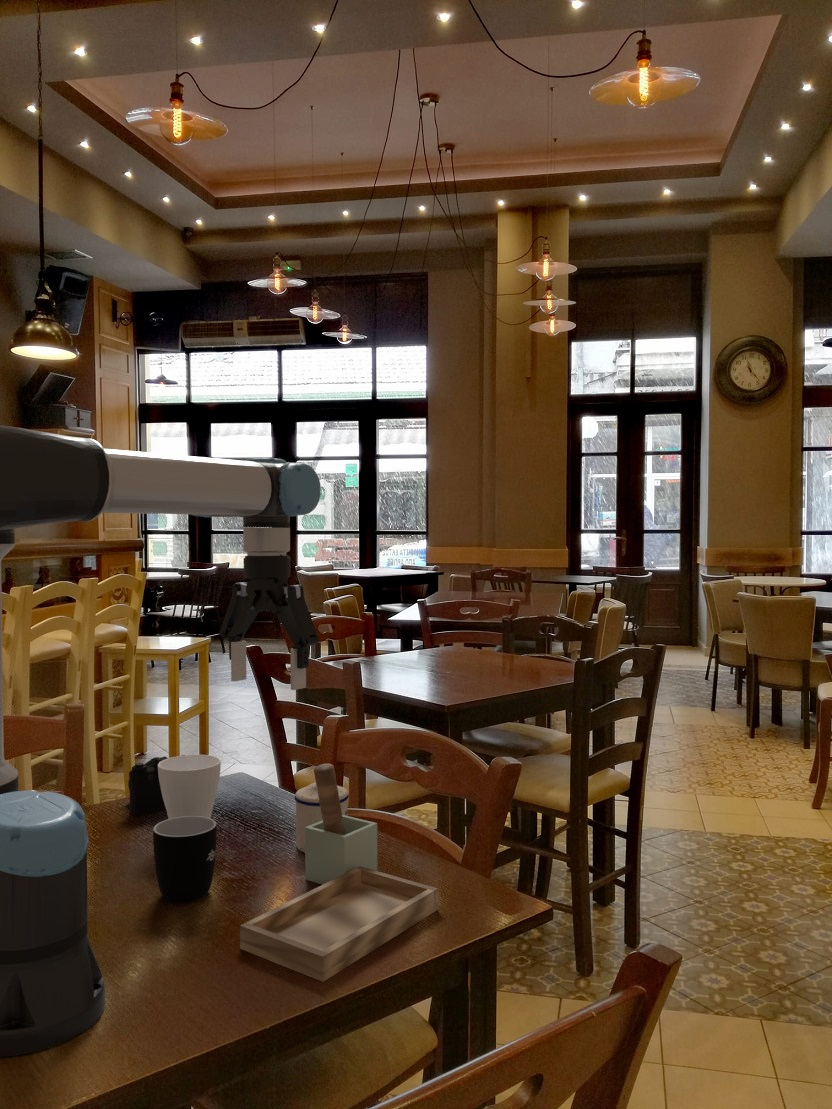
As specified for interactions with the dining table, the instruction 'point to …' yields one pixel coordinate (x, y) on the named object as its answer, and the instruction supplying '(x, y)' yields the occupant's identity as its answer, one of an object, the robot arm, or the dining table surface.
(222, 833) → the dining table surface
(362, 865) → the pot
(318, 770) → the baguette
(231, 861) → the dining table surface
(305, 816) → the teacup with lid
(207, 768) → the cup
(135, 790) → the black teapot
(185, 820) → the mug
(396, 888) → the serving tray
